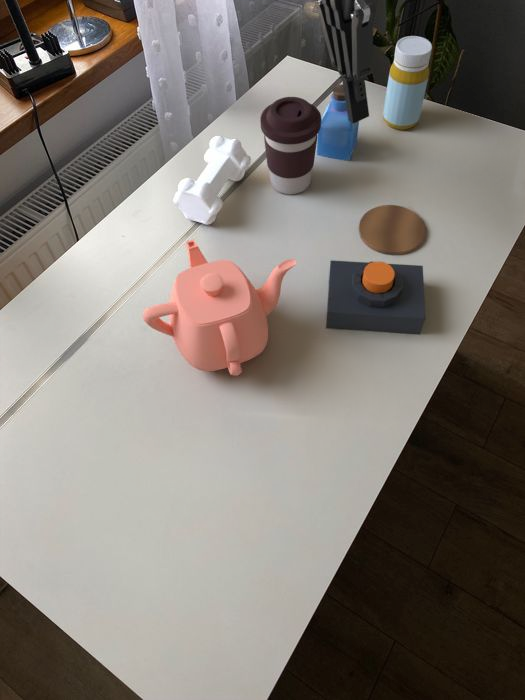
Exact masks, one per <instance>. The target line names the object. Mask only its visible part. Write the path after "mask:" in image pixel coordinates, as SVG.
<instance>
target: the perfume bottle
mask: <svg viewBox="0 0 525 700" xmlns="http://www.w3.org/2000/svg"><path fill="white" fill-rule="evenodd" d="M359 125H360V121H358V122H356V123H354V124H353V123H352V122H350V121H349V120H348V114H347V107H346V101H345V94H344V88H343V83H342V84H337V85H335V86H333V88H332V93H331V96H330V101H329V103H328V104H327V106H326V108H325V110H324V113H323V115H322V116H321V128H320V131H319V132H318V134H317V144H316V156H320V157H325V158H330V159H337V160H342V161H347V162H350V160H351V157H352V155H353V153H354V149H355V147H356V145H357V144H356V143H357V141H358V135H359V127H360V126H359Z"/></svg>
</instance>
